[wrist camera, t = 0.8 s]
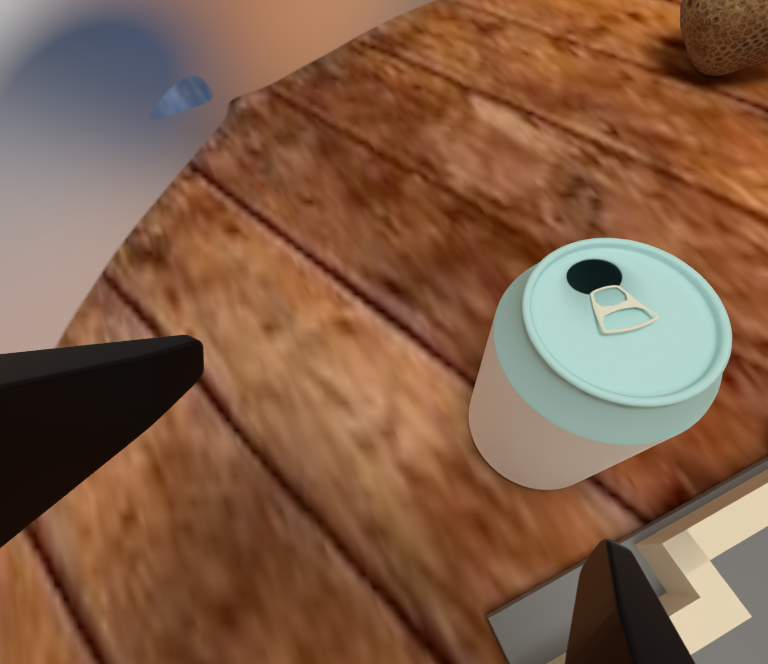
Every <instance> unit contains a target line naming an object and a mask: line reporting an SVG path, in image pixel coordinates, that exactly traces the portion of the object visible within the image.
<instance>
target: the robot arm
mask: <svg viewBox="0 0 768 664" xmlns="http://www.w3.org/2000/svg"><path fill="white" fill-rule="evenodd" d="M203 371H204V353H203V344H202V342H200V341H199V340H197V339H195V338H193V337H191V336H188V335H178V336H168V337H159V338H149V339H140V340H130V341H121V342H111V343H102V344H92V345H83V346H73V347H64V348H55V349H45V350H36V351H27V352H17V353H8V354H0V548H1V547H2V546H3V545H5V544H6V543H7V542H8V541H10V540H11V539H12V538H13V537H15V536H16V535H17V534H18V533H20V532H21V531H22V530H23V529H24V528H26V527H27V526H28V525H29V524H31V523H32V522H33V521H34V520H36V519H37V518H38V517H39V516H41V515H42V514H43V513H44V512H46V511H47V510H48V509H49V508H50V507H52V506H53V505H54V504H55V503H57V502H58V501H59V500H60V499H62V498H63V497H64V496H65V495H67V494H68V493H69V492H70V491H72V490H73V489H74V488H75V487H77V486H78V485H79V484H80V483H81V482H83V481H84V480H85V479H86V478H88V477H89V476H90V475H91V474H93V473H94V472H95V471H96V470H98V469H99V468H100V467H101V466H103V465H104V464H105V463H106V462H108V461H109V460H110V459H111V458H112V457H114V456H115V455H116V454H117V453H119V452H120V451H121V450H122V449H124V448H125V447H126V446H127V445H129V444H130V443H131V442H132V441H134V440H135V439H136V438H137V437H139V436H140V435H141V434H142V433H143V432H145V431H146V430H147V429H148V428H149V427H151V426H152V425H153V424H154V423H155V422H156V421H157V420H158V419H159V418H160V417H161V416H162V415H163V414H164V413H166V412H167V411H168V410H169V409H170V408H171V407H172V406H173V405H174V404H175V403H176V402H177V401H178V400H179V399H180V398H181V397H182V396H183V395H184V394H185V393H186V392H187V391H188V390H189V389H190V388H191V387H192V386H193V385H194V384H195V383H196V382H198V380H199V379H200V378H201V377H202V374H203ZM565 664H696V663H695V662H694V660H693V658H692V656H691V655H690V653H689V651H688V649H687V648H686V646H685V644H684V642H683V640H682V639H681V637H680V635H679V633H678V632H677V630H676V628H675V626H674V625H673V623H672V621H671V619H670V617H669V616H668V614H667V612H666V610H665V609H664V607H663V605H662V603H661V602H660V600H659V598H658V596H657V594H656V593H655V591H654V589H653V587H652V586H651V584H650V582H649V580H648V579H647V577H646V575H645V573H644V571H643V570H642V568H641V566H640V564H639V563H638V561H637V559H636V557H635V556H634V554H633V553H632V551H631V550H630V549H628V548H627V547H625V546H623V545H621V544H619V543H616V542H614V541H612V540H610V539H603V540H602V541H601V542H600V543H599V544H598V545H597V547H596V548H595V550H594V551H593V552H592V554H591V555H590V556H589V558H588V559H587V561H586V562H585V563H584V565H583V567H582V569H581V572H580V575H579V580H578V586H577V592H576V598H575V603H574V609H573V615H572V621H571V627H570V633H569V639H568V645H567V651H566V658H565Z"/></svg>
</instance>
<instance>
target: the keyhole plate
mask: <svg viewBox="0 0 768 664" xmlns="http://www.w3.org/2000/svg"><path fill="white" fill-rule="evenodd" d="M616 543H619V544H621V545H623V546H625V547H627V548H628V549H630V550H631V551H632V553H633V554H634V556H635V557H636V559H637V561H638V563H639V564H640V566H641V568H642V570H643V571H644V573H645V575H646V577H647V579H648V580H649V582H650V584H651V586H652V587H653V589H654V591H655V593H656V594H657V596H658V598H659V600H660V602H661V603H662V605H663V607H664V609H665V610H666V612H667V614H668V616H669V617H670V619H671V621H672V623H673V625H674V626H675V628H676V630H677V632H678V633H679V635H680V637H681V639H682V640H683V642H684V644H685V646H686V648H687V649H688V651H689V653H690V655H691V656H692V658H693V660H694V662H695V663H696V664H768V456H767V457H765V458H763V459H762V460H760V461H758V462H756V463H754V464H753V465H751V466H749V467H747V468H746V469H744V470H742V471H740V472H738V473H737V474H735V475H733V476H731V477H730V478H728V479H726V480H724V481H723V482H721V483H719V484H717V485H715V486H714V487H712V488H710V489H708V490H707V491H705V492H703V493H701V494H700V495H698V496H696V497H694V498H692V499H691V500H689V501H687V502H685V503H684V504H682V505H680V506H678V507H677V508H675V509H673V510H671V511H669V512H668V513H666V514H664V515H662V516H661V517H659V518H657V519H655V520H653V521H652V522H650V523H648V524H646V525H645V526H643V527H641V528H639V529H638V530H636V531H634V532H632V533H630V534H629V535H627V536H625V537H623V538H622V539H620V540H618V541H616ZM588 558H589V557H588ZM588 558H586V559H584V560H583V561H581V562H579V563H577V564H576V565H574V566H572V567H570V568H568V569H567V570H565V571H563V572H561V573H560V574H558V575H556V576H554V577H553V578H551V579H549V580H547V581H545V582H544V583H542V584H540V585H538V586H537V587H535V588H533V589H531V590H529V591H528V592H526V593H524V594H522V595H521V596H519V597H517V598H515V599H514V600H512V601H510V602H508V603H506V604H505V605H503V606H501V607H499V608H498V609H496V610H494V611H492V612H491V613H489V614H487V615H486V617H487V619H488V621H489V624H490V626H491V628H492V630H493V632H494V634H495V636H496V638H497V640H498V642H499V644H500V646H501V648H502V651H503V653H504V655H505V657H506V659H507V661H508V663H509V664H565V658H566V651H567V645H568V639H569V633H570V627H571V621H572V615H573V609H574V603H575V598H576V592H577V586H578V580H579V575H580V572H581V569H582V567H583V565H584V563H585V562H586V561H587V559H588Z"/></svg>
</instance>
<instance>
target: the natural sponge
mask: <svg viewBox="0 0 768 664" xmlns="http://www.w3.org/2000/svg"><path fill="white" fill-rule="evenodd" d="M680 27H681V31H682V35H683V39H684V42H685V45H686V48H687V52H688V55H689V57H690V59H691V61H692V63H693V64H694V66H695V67H696V68H697V69H698V70H699V71H700V72H701V73H702V74H705V75H709V76H721V75H726V74H730V73H733V72H735V71H738V70H740V69H743V68H746V67H749V66H753V65H760V64H764V63H768V0H682V3H681V8H680Z"/></svg>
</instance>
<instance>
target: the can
mask: <svg viewBox="0 0 768 664" xmlns="http://www.w3.org/2000/svg"><path fill="white" fill-rule="evenodd" d="M731 348H732V330H731V325H730V321H729V318H728V315H727V312H726V310H725V308H724V305H723V303H722V302H721V300H720V298H719V297H718V295H717V294H716V292H715V291H714V290H713V288H712V287H711V286H710V285H709V284H708V282H707V281H706V280H705V279H704V278H703V277H702V276H701V275H700V274H699V273H697V272H696V271H695V270H694V269H693V268H691V267H690V266H689V265H687V264H686V263H685V262H683V261H681V260H680V259H678V258H677V257H675V256H673V255H671V254H669V253H667V252H665V251H663V250H661V249H658V248H656V247H653V246H650V245H647V244H644V243H640V242H636V241H631V240H625V239H617V238H594V239H587V240H582V241H577V242H574V243H571V244H568V245H565V246H563V247H561V248H559V249H557V250H555V251H553V252H552V253H550V254H549V255H547V256H546V257H545V258H544V259H543V260H542V261H541V262H540V263H538V264H536V265H534V266H532V267H531V268H529V269H528V270H526V271H525V272H524V273H522V274H521V275H520V276H519V277H518V278H517V279H516V280H515V281H514V282H513V283H512V284H511V285H510V286H509V287H508V289H507V290H506V291H505V293H504V295H503V296H502V298H501V300H500V302H499V304H498V307H497V310H496V314H495V317H494V321H493V324H492V328H491V331H490V335H489V338H488V341H487V345H486V348H485V352H484V355H483V359H482V362H481V366H480V369H479V373H478V376H477V380H476V383H475V387H474V390H473V394H472V397H471V401H470V406H469V426H470V431H471V434H472V438H473V440H474V442H475V445H476V447H477V448H478V450H479V452H480V453H481V455H482V456H483V458H484V459H485V460H486V461H487V462H488V464H489V465H490V466H491V467H492V468H493V469H495V470H496V471H497V472H498V473H500V474H501V475H502V476H504V477H505V478H507V479H509V480H510V481H512V482H514V483H517V484H519V485H522V486H525V487H528V488H533V489H539V490H555V489H561V488H565V487H568V486H571V485H573V484H576V483H578V482H580V481H582V480H584V479H586V478H588V477H590V476H592V475H594V474H596V473H599V472H601V471H603V470H605V469H607V468H609V467H611V466H613V465H615V464H617V463H619V462H622V461H624V460H626V459H628V458H630V457H632V456H634V455H636V454H638V453H640V452H642V451H645V450H647V449H649V448H651V447H653V446H655V445H657V444H659V443H661V442H663V441H665V440H667V439H670V438H672V437H674V436H676V435H678V434H680V433H682V432H684V431H685V430H687V429H688V428H690V427H691V426H693V425H694V424H695V423H696V422H697V421H699V420H700V418H701V417H702V416H703V415H704V414H705V413H706V412H707V410H708V409H709V407H710V406H711V404H712V403H713V401H714V399H715V397H716V395H717V393H718V390H719V387H720V384H721V379H722V372H723V371H724V369H725V367H726V365H727V363H728V360H729V357H730V354H731Z"/></svg>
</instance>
